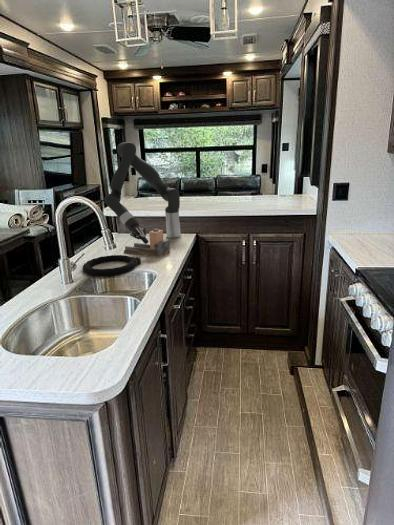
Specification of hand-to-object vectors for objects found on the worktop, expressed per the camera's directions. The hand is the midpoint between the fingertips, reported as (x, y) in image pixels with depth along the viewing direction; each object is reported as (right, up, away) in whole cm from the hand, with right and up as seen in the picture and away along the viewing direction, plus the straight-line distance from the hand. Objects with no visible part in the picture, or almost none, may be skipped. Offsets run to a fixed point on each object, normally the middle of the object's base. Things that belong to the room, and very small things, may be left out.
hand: (147, 242), depth 206 cm
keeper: (+6, -5, -2) cm, 8 cm away
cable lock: (-15, -15, -23) cm, 31 cm away
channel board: (0, -6, +2) cm, 6 cm away
